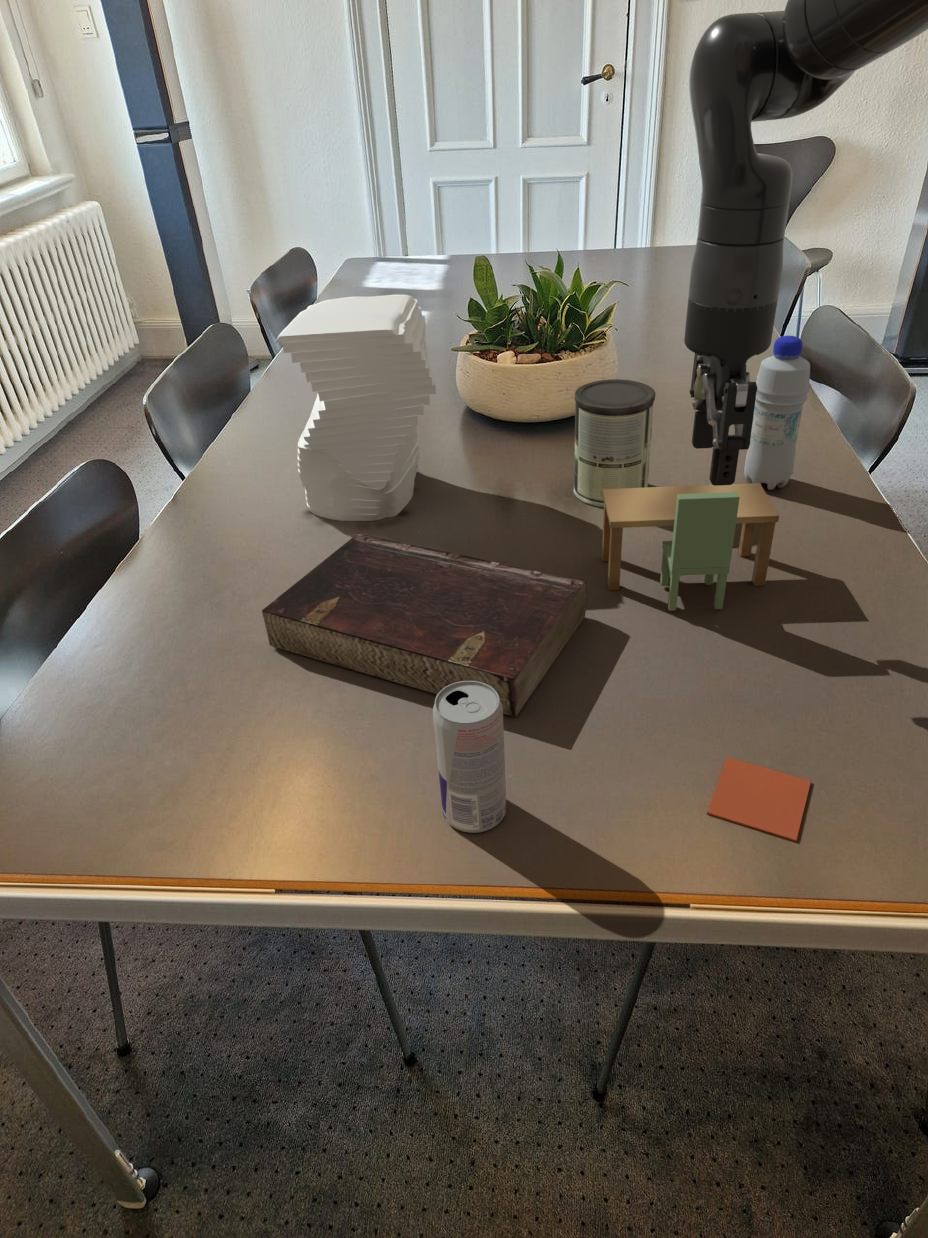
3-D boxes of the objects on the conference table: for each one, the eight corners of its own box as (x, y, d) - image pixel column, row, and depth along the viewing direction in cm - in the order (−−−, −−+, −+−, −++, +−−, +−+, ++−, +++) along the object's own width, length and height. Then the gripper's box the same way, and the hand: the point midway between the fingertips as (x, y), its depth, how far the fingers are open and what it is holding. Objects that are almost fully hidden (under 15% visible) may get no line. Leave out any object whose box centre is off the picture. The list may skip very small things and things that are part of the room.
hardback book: (585, 615, 93) (586, 577, 91) (515, 720, 80) (514, 679, 77) (364, 564, 105) (359, 528, 102) (270, 648, 92) (261, 610, 89)
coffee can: (561, 482, 121) (562, 386, 113) (627, 470, 123) (632, 374, 115) (591, 514, 112) (595, 412, 104) (661, 499, 115) (670, 398, 107)
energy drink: (474, 777, 74) (467, 670, 67) (519, 809, 71) (517, 699, 64) (429, 812, 71) (417, 702, 64) (474, 846, 68) (466, 735, 61)
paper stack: (280, 531, 113) (241, 337, 99) (345, 448, 135) (320, 279, 120) (433, 540, 109) (416, 339, 94) (475, 453, 130) (466, 278, 116)
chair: (711, 580, 97) (726, 471, 89) (723, 609, 92) (740, 497, 84) (658, 581, 97) (668, 473, 90) (667, 611, 93) (679, 499, 85)
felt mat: (810, 782, 72) (811, 780, 71) (796, 842, 67) (796, 840, 66) (726, 758, 74) (727, 757, 74) (706, 814, 69) (706, 812, 69)
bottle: (731, 483, 117) (751, 337, 106) (758, 467, 121) (780, 325, 110) (774, 498, 113) (800, 348, 102) (801, 481, 117) (829, 334, 105)
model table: (749, 550, 103) (760, 482, 98) (767, 586, 96) (779, 515, 91) (599, 555, 104) (602, 488, 99) (607, 591, 97) (610, 521, 92)
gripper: (801, 313, 68) (770, 496, 77) (756, 271, 80) (733, 434, 89) (706, 318, 68) (686, 499, 78) (675, 274, 80) (661, 437, 89)
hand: (711, 464), depth 83 cm, fingers open, 8 cm apart
